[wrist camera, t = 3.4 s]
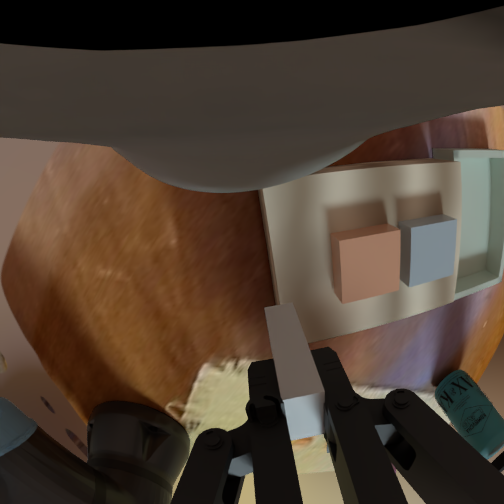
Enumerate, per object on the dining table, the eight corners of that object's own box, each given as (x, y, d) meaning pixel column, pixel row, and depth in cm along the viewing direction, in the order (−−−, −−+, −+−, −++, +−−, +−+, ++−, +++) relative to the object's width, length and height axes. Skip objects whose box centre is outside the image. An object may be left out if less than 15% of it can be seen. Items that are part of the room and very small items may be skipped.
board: (277, 318, 29) (285, 347, 25) (255, 176, 25) (261, 182, 20) (428, 282, 30) (453, 301, 25) (429, 158, 25) (460, 161, 20)
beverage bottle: (466, 364, 36) (533, 443, 17) (443, 395, 37) (499, 476, 18) (445, 360, 34) (518, 451, 16) (421, 394, 36) (480, 487, 17)
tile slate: (397, 277, 23) (409, 287, 22) (398, 221, 22) (411, 227, 20) (440, 266, 23) (453, 274, 22) (443, 213, 22) (457, 219, 20)
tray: (431, 289, 30) (447, 302, 27) (432, 148, 25) (453, 149, 22) (484, 271, 30) (501, 281, 27) (489, 148, 25) (508, 150, 22)
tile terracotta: (334, 292, 23) (342, 304, 21) (330, 233, 22) (339, 241, 20) (388, 280, 23) (398, 290, 21) (387, 223, 22) (400, 229, 20)
